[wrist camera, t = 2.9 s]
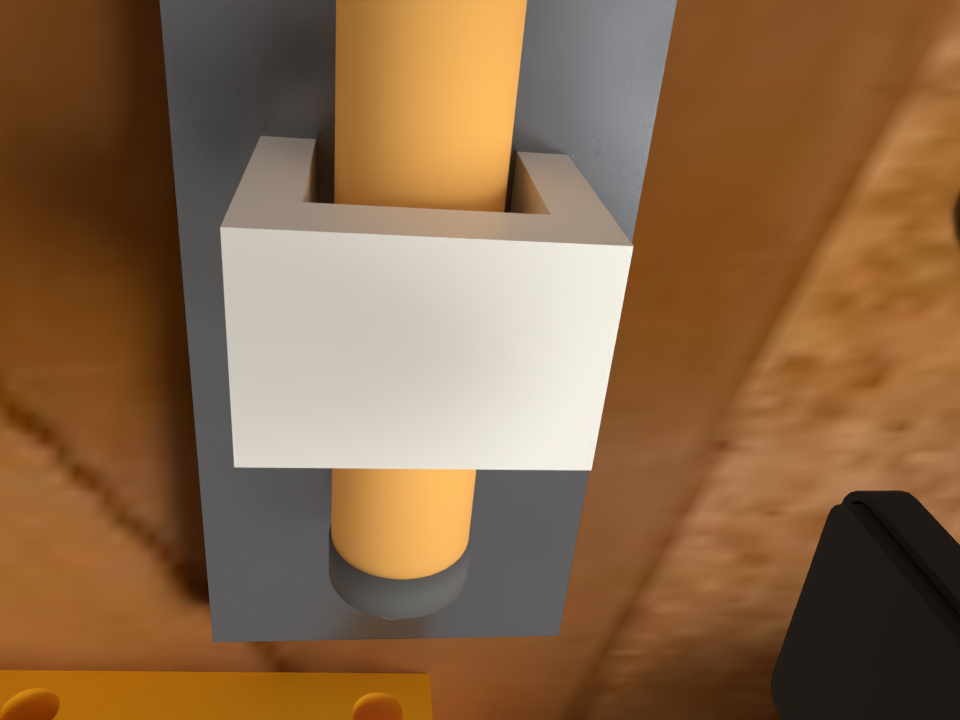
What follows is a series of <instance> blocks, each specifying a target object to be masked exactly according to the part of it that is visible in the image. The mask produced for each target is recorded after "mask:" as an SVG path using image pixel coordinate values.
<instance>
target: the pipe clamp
mask: <svg viewBox="0 0 960 720" xmlns="http://www.w3.org/2000/svg"><path fill="white" fill-rule="evenodd" d="M0 720H433V717H432V702H431V688H430V674H409V673H294V672H178V671H63V670H0Z"/></svg>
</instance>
